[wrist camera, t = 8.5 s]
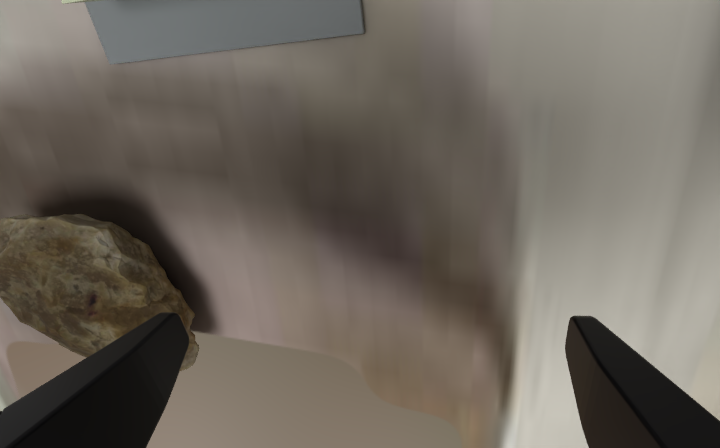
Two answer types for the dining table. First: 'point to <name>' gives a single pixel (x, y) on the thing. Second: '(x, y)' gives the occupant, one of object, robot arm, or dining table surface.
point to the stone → (84, 281)
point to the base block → (76, 0)
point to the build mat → (215, 25)
